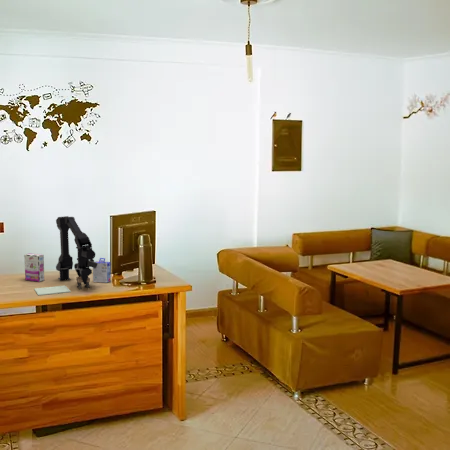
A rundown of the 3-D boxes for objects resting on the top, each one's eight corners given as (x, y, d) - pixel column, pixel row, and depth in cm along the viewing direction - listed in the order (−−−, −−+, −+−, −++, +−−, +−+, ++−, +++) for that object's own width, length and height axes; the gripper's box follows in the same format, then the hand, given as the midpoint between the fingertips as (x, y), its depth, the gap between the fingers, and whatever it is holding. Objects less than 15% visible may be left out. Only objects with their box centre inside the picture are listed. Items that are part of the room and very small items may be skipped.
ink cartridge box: (111, 280, 367) (110, 258, 365) (107, 283, 361) (107, 259, 359) (96, 279, 369) (95, 257, 366) (92, 282, 363) (92, 259, 361)
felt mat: (34, 289, 344) (34, 288, 344) (65, 286, 352) (65, 285, 352) (38, 295, 332) (38, 294, 332) (70, 292, 340) (70, 291, 340)
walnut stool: (76, 286, 351) (76, 277, 350) (87, 285, 354) (87, 276, 353) (79, 289, 346) (78, 279, 345) (90, 288, 349) (89, 278, 348)
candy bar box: (44, 280, 365) (44, 254, 363) (39, 282, 361) (38, 256, 358) (30, 278, 370) (29, 252, 367) (24, 280, 365) (23, 254, 362)
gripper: (100, 258, 342) (100, 285, 345) (92, 252, 359) (92, 277, 361) (81, 260, 337) (81, 287, 340) (73, 254, 354) (74, 279, 356)
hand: (83, 282), depth 350 cm, fingers open, 8 cm apart
